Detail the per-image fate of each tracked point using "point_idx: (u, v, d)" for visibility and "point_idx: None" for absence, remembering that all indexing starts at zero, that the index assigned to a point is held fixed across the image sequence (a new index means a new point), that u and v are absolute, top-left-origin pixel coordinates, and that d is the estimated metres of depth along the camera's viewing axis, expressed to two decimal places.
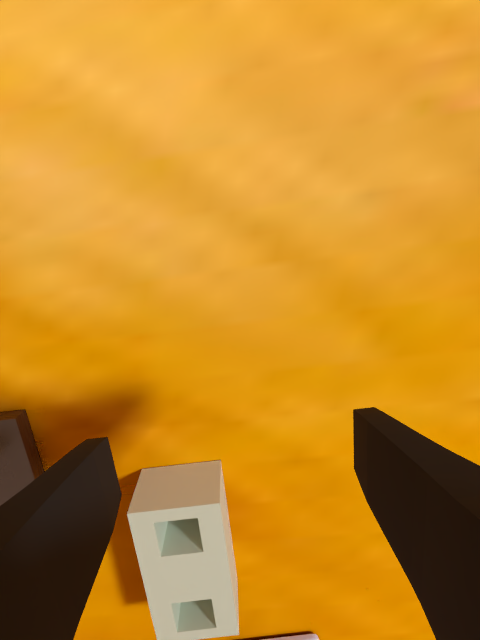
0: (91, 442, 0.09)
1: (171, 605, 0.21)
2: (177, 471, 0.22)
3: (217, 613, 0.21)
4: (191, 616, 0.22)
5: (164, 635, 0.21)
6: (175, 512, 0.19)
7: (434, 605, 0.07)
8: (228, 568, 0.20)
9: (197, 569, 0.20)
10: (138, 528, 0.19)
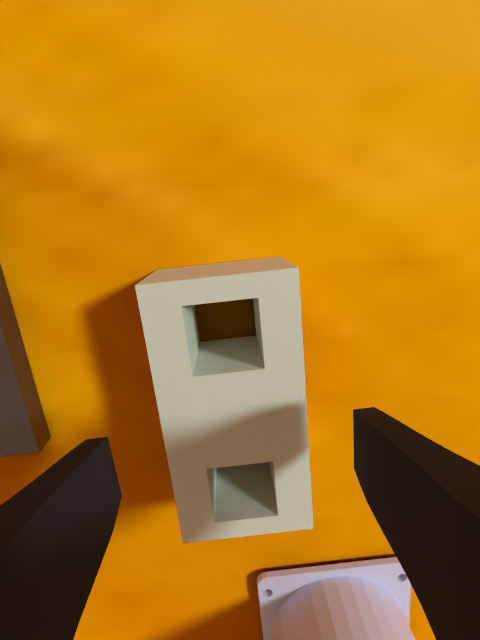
0: (91, 442, 0.09)
1: (206, 473, 0.13)
2: (215, 265, 0.13)
3: (281, 488, 0.13)
4: (235, 503, 0.14)
5: (193, 527, 0.13)
6: (220, 285, 0.11)
7: (434, 605, 0.07)
8: (304, 403, 0.12)
9: (252, 403, 0.12)
10: (154, 317, 0.11)
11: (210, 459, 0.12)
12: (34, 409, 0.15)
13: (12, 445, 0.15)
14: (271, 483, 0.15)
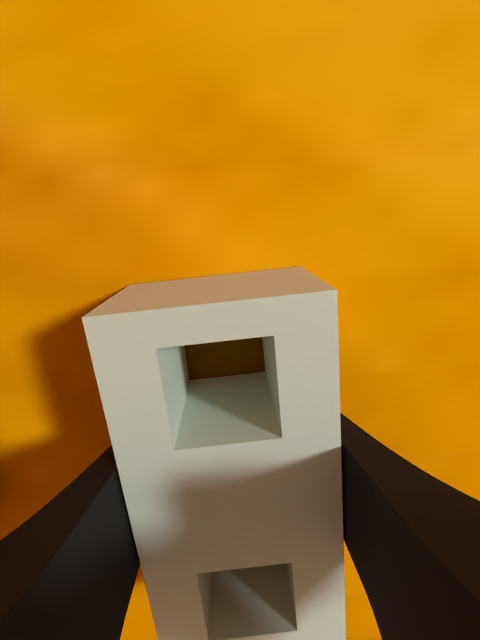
0: None
1: (196, 578, 0.09)
2: (209, 279, 0.10)
3: (302, 597, 0.09)
4: (237, 605, 0.10)
5: None
6: (214, 317, 0.07)
7: (381, 611, 0.07)
8: (339, 484, 0.08)
9: (263, 486, 0.08)
10: (114, 365, 0.07)
11: (202, 561, 0.09)
12: None
13: None
14: (285, 570, 0.11)
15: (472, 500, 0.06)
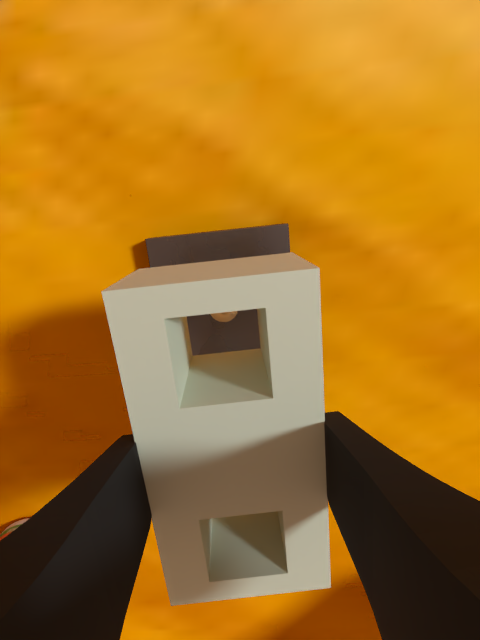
0: (129, 438, 0.10)
1: (199, 524, 0.10)
2: (210, 263, 0.11)
3: (292, 542, 0.10)
4: (234, 554, 0.11)
5: (183, 588, 0.11)
6: (215, 292, 0.08)
7: (381, 611, 0.07)
8: (323, 440, 0.09)
9: (257, 441, 0.09)
10: (129, 333, 0.08)
11: (203, 508, 0.10)
12: None
13: None
14: (278, 526, 0.12)
15: (472, 500, 0.06)
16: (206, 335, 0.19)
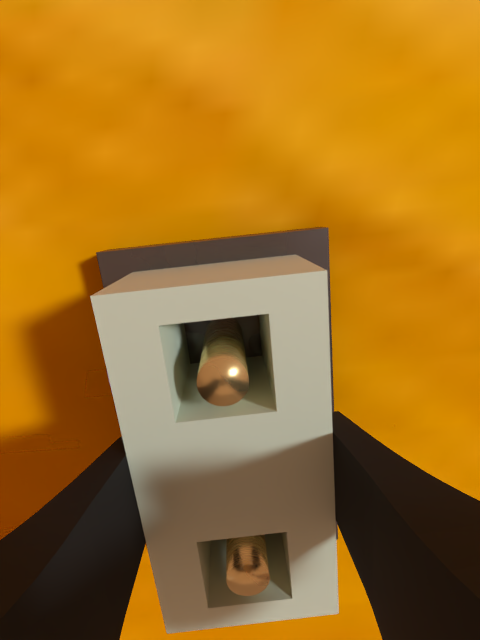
0: None
1: (197, 547, 0.09)
2: (208, 266, 0.10)
3: (297, 566, 0.10)
4: None
5: (180, 615, 0.10)
6: (213, 296, 0.07)
7: (382, 611, 0.07)
8: (331, 456, 0.09)
9: (259, 458, 0.09)
10: (120, 341, 0.08)
11: (202, 530, 0.09)
12: None
13: None
14: (282, 545, 0.12)
15: (472, 500, 0.06)
16: None
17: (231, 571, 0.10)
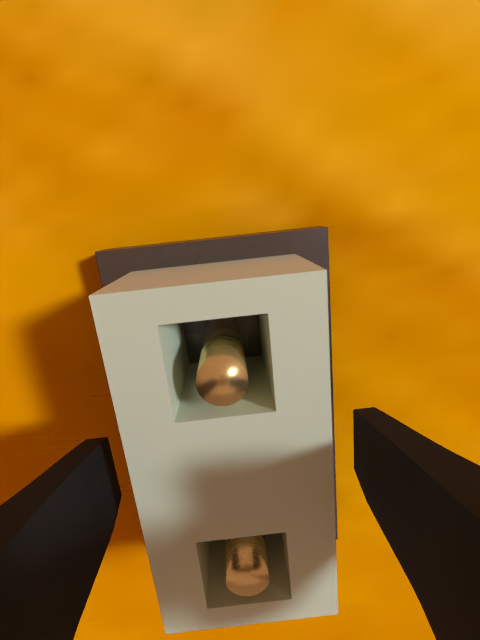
0: (91, 442, 0.09)
1: (196, 547, 0.09)
2: (208, 265, 0.10)
3: (296, 566, 0.10)
4: None
5: (179, 615, 0.10)
6: (212, 296, 0.07)
7: (434, 605, 0.07)
8: (330, 456, 0.09)
9: (258, 458, 0.09)
10: (119, 341, 0.08)
11: (201, 530, 0.09)
12: None
13: None
14: (281, 546, 0.11)
15: None
16: None
17: (230, 572, 0.10)
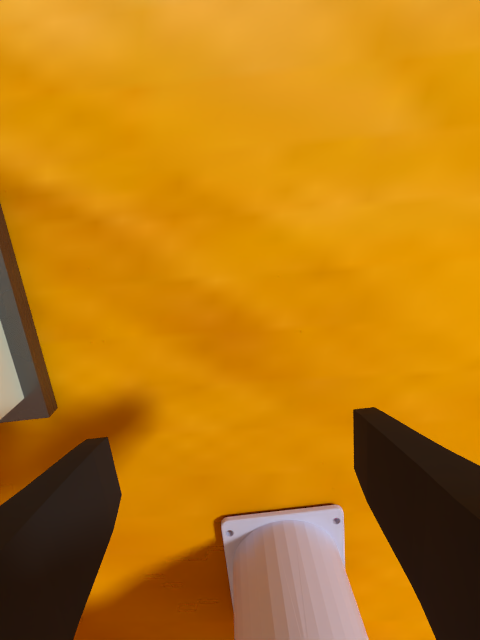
0: (91, 442, 0.09)
1: None
2: None
3: None
4: None
5: None
6: None
7: (434, 605, 0.07)
8: None
9: None
10: None
11: None
12: (45, 384, 0.19)
13: (28, 412, 0.19)
14: None
15: None
16: None
17: None
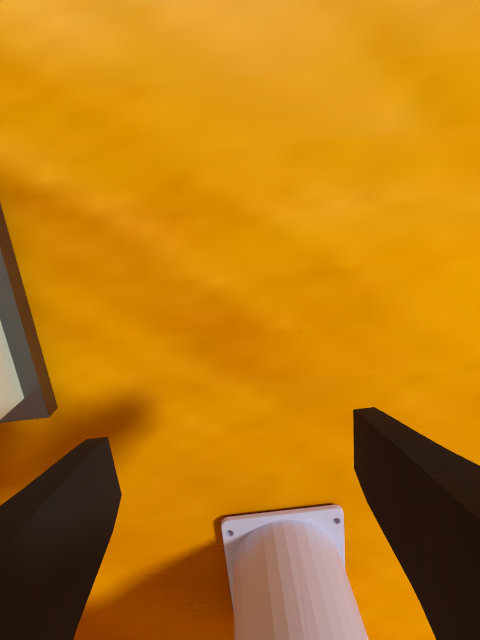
0: (91, 442, 0.09)
1: None
2: None
3: None
4: None
5: None
6: None
7: (434, 605, 0.07)
8: None
9: None
10: None
11: None
12: (45, 384, 0.19)
13: (28, 412, 0.19)
14: None
15: None
16: None
17: None
